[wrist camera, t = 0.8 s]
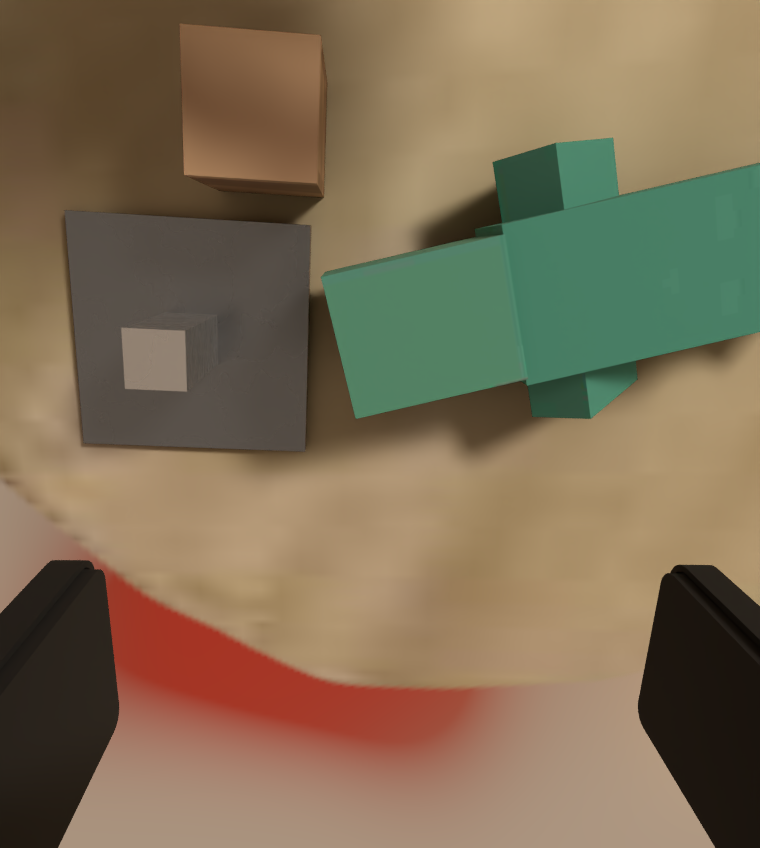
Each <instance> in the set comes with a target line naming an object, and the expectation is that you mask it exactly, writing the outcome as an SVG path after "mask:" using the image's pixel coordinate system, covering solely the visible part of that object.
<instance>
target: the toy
mask: <svg viewBox="0 0 760 848" xmlns="http://www.w3.org/2000/svg"><path fill="white" fill-rule="evenodd" d="M493 167H494V174H495V180H496V186H497V193H498V199H499V206H500V212H501V218H502V223H499V224H494V225H490V226H486V227H482V228H477V229H475V234H476V237H473V238H469V239H464V240H460V241H456V242H452V243H447V244H443V245H439V246H434V247H430V248H426V249H421V250H417V251H413V252H409V253H404V254H400V255H396V256H391V257H387V258H383V259H378V260H374V261H370V262H366V263H361V264H357V265H353V266H348V267H344V268H340V269H335V270H331V271H327V272H325V273H324V274H323V275H322V277H321V279H322V283H323V287H324V291H325V295H326V300H327V304H328V308H329V312H330V316H331V320H332V324H333V328H334V332H335V336H336V340H337V345H338V349H339V353H340V357H341V361H342V365H343V369H344V373H345V377H346V381H347V386H348V390H349V394H350V398H351V402H352V406H353V410H354V414H355V418H356V419H358V418H362V417H366V416H371V415H375V414H379V413H384V412H388V411H392V410H397V409H401V408H405V407H410V406H414V405H418V404H423V403H427V402H431V401H436V400H440V399H444V398H449V397H453V396H457V395H462V394H466V393H470V392H475V391H479V390H483V389H488V388H492V387H496V386H501V385H505V384H509V383H514V382H518V381H521V382H523V383H524V384H525V385H527V386H528V391H529V398H530V404H531V411H532V417H552V418H584V419H591V418H592V417H593V416H595V415H596V414H597V413H598V412H599V411H601V410H602V409H603V408H604V407H605V406H606V405H608V404H609V403H610V402H611V401H612V400H614V399H615V398H616V397H617V396H618V395H620V394H621V393H622V392H623V391H624V390H626V389H627V388H628V387H629V386H630V385H631V384H633V383H634V382H635V381H636V380H637V379H638V378H637V369H636V360H640V359H645V358H649V357H653V356H658V355H662V354H666V353H671V352H675V351H679V350H684V349H688V348H692V347H697V346H701V345H705V344H710V343H714V342H718V341H723V340H727V339H731V338H736V337H740V336H744V335H749V334H753V333H757V332H760V163H757V164H752V165H748V166H744V167H739V168H735V169H731V170H726V171H722V172H718V173H714V174H709V175H705V176H701V177H696V178H692V179H688V180H683V181H679V182H675V183H671V184H666V185H662V186H658V187H653V188H649V189H645V190H641V191H636V192H632V193H628V194H623V195H619V192H618V182H617V172H616V162H615V152H614V143H613V138H606V139H595V140H584V141H573V142H562V143H554V144H551V145H548V146H545V147H541V148H538V149H535V150H531V151H528V152H525V153H521V154H518V155H515V156H512V157H508V158H505V159H502V160H498V161H495V162H493Z"/></svg>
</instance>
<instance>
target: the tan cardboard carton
mask: <svg viewBox="0 0 760 848" xmlns="http://www.w3.org/2000/svg"><path fill="white" fill-rule="evenodd" d="M180 57H181V90H182V124H183V157H184V175H186V176H188V177H190V178H192V179H195V180H197V181H199V182H201V183H204V184H206V185H208V186H210V187H212V188H215V189H217V190H219V191H231V192H246V193H262V194H277V195H293V196H308V197H324V176H325V142H326V108H327V78H326V70H325V63H324V55H323V48H322V40H321V35H314V34H302V33H289V32H277V31H265V30H252V29H240V28H228V27H215V26H203V25H191V24H180Z"/></svg>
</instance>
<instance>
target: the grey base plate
mask: <svg viewBox="0 0 760 848" xmlns="http://www.w3.org/2000/svg"><path fill="white" fill-rule="evenodd" d="M65 222H66V234H67V246H68V258H69V271H70V283H71V295H72V307H73V319H74V332H75V344H76V356H77V368H78V380H79V393H80V405H81V417H82V429H83V441H84V443H92V444H119V445H145V446H171V447H197V448H223V449H249V450H276V451H302V452H305V450H306V420H307V379H308V338H309V297H310V256H311V225H297V224H280V223H264V222H248V221H231V220H215V219H199V218H183V217H166V216H150V215H134V214H118V213H101V212H85V211H69V210H65Z"/></svg>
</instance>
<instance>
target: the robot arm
mask: <svg viewBox="0 0 760 848" xmlns="http://www.w3.org/2000/svg"><path fill="white" fill-rule="evenodd" d="M638 713H639V718H640V721H641V724H642V726H643V728H644V729H645V731H646V733H647V734H648V736H649V738H650V740H651V741H652V743H653V744H654V746H655V748H656V749H657V751H658V753H659V754H660V756H661V758H662V759H663V761H664V763H665V764H666V766H667V768H668V769H669V771H670V773H671V775H672V776H673V778H674V780H675V781H676V783H677V784H678V786H679V788H680V789H681V791H682V793H683V795H684V796H685V798H686V799H687V801H688V803H689V804H690V806H691V807H692V809H693V811H694V813H695V814H696V816H697V818H698V819H699V821H700V823H701V824H702V826H703V828H704V829H705V831H706V833H707V834H708V836H709V838H710V839H711V841H712V843H713V844H714V846H715V848H760V606H759V605H758V604H756V603H755V602H754V601H753V600H752V599H751V598H750V597H749V596H748V595H746V594H745V593H744V592H743V591H742V590H741V589H740V588H739V587H737V586H736V585H735V584H734V583H733V582H732V581H731V580H730V579H728V578H727V577H726V576H725V575H724V574H723V573H722V572H721V571H719V570H718V569H717V568H716V567H714V566H712V565H677V566H675V567H674V568H673V569H672V571H671V573H667V574H665V575H664V576H663V578H662V581H661V585H660V590H659V595H658V601H657V606H656V611H655V616H654V622H653V627H652V632H651V637H650V643H649V648H648V653H647V658H646V664H645V669H644V674H643V679H642V685H641V690H640V695H639V700H638ZM118 715H119V700H118V691H117V682H116V673H115V664H114V654H113V645H112V636H111V627H110V617H109V609H108V600H107V590H106V581H105V575H104V573H103V571H102V570H94V566H93V564H92V563H91V562H90V561H83V560H82V561H81V560H54V561H50V562H49V563H48V564H47V565H46V566H45V567H44V568H43V569H42V570H41V571H40V572H39V573H38V574H37V575H36V576H35V577H34V578H33V579H32V580H31V581H30V583H29V584H28V585H27V586H26V587H25V588H24V589H23V590H22V591H21V592H20V593H19V594H18V595H17V596H16V597H15V598H14V600H13V601H12V602H11V603H10V604H9V605H8V606H7V607H6V608H5V609H4V610H3V611H2V612H1V613H0V848H58V846H59V844H60V842H61V840H62V838H63V836H64V834H65V832H66V830H67V828H68V826H69V824H70V822H71V820H72V818H73V815H74V813H75V811H76V809H77V807H78V805H79V803H80V801H81V799H82V797H83V795H84V793H85V791H86V789H87V786H88V784H89V782H90V780H91V778H92V776H93V774H94V772H95V770H96V768H97V766H98V764H99V762H100V760H101V758H102V755H103V753H104V751H105V749H106V747H107V745H108V743H109V741H110V739H111V737H112V735H113V733H114V730H115V728H116V724H117V721H118Z"/></svg>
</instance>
